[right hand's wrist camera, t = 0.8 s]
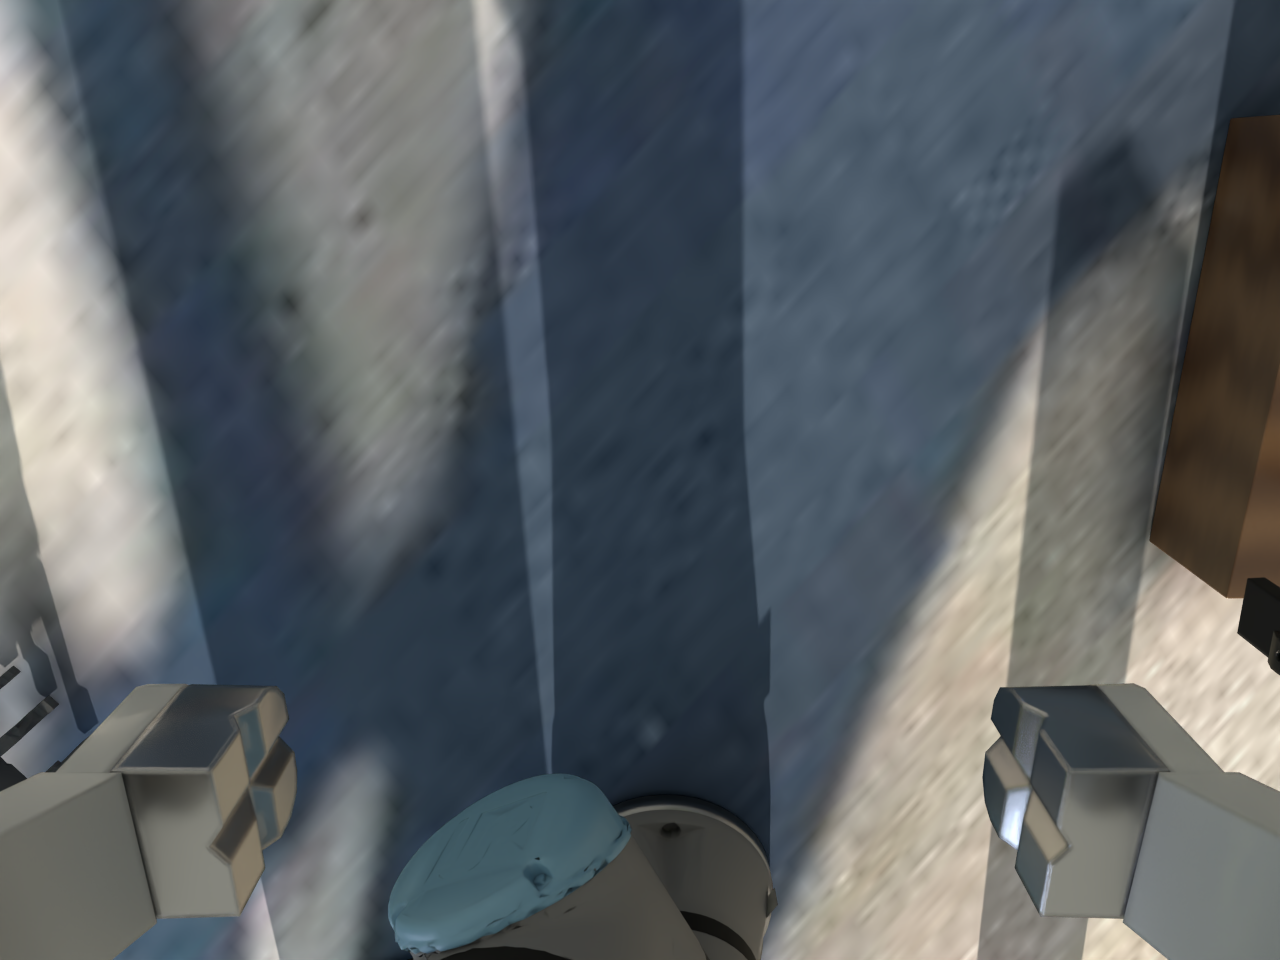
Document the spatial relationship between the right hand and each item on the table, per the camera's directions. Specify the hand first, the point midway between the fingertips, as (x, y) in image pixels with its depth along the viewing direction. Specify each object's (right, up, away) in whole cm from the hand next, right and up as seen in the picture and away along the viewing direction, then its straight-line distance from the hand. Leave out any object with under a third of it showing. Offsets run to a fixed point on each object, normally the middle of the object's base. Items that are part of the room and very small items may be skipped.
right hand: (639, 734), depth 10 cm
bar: (+34, +11, +42) cm, 55 cm away
